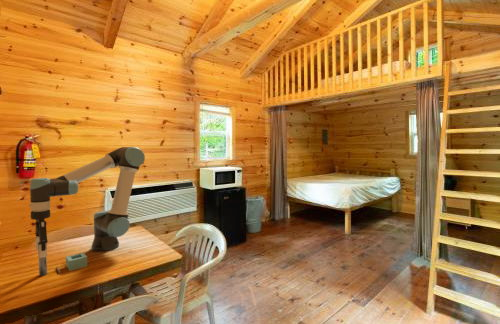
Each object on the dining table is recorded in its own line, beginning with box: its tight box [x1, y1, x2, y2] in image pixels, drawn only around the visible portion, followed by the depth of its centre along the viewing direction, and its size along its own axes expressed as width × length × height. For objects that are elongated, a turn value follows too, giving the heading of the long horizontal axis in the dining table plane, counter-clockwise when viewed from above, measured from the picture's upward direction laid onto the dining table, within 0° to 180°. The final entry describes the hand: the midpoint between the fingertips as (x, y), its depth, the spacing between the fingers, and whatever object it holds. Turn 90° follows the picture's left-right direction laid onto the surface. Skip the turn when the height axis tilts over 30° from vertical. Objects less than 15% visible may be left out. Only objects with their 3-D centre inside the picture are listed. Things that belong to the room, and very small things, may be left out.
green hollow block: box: [65, 252, 88, 272], centre depth 138 cm, size 8×8×5 cm
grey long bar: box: [37, 240, 48, 277], centre depth 129 cm, size 3×3×17 cm
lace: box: [55, 266, 62, 274], centre depth 133 cm, size 8×1×1 cm, turn 45°
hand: (41, 253), depth 128 cm, fingers open, 13 cm apart
